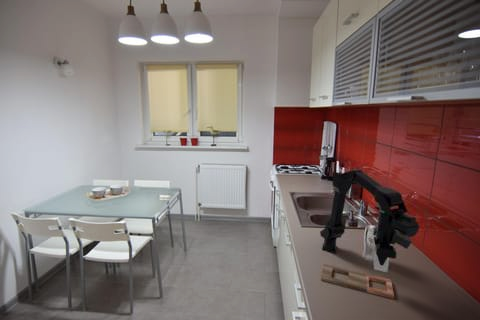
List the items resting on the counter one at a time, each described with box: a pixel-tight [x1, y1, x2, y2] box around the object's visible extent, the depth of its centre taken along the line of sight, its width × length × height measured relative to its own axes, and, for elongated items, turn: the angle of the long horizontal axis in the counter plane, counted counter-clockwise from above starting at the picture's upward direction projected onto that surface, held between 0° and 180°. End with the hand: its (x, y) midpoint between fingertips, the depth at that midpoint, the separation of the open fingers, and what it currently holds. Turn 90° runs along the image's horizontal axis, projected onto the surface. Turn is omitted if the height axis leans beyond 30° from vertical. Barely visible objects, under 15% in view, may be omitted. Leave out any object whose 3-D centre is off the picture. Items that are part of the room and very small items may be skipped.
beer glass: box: [362, 224, 377, 263], centre depth 123 cm, size 7×7×15 cm
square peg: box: [372, 251, 390, 273], centre depth 102 cm, size 4×4×8 cm
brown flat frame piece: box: [320, 263, 395, 300], centre depth 108 cm, size 10×26×1 cm, turn 67°
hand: (381, 261), depth 102 cm, fingers closed on square peg, 4 cm apart
